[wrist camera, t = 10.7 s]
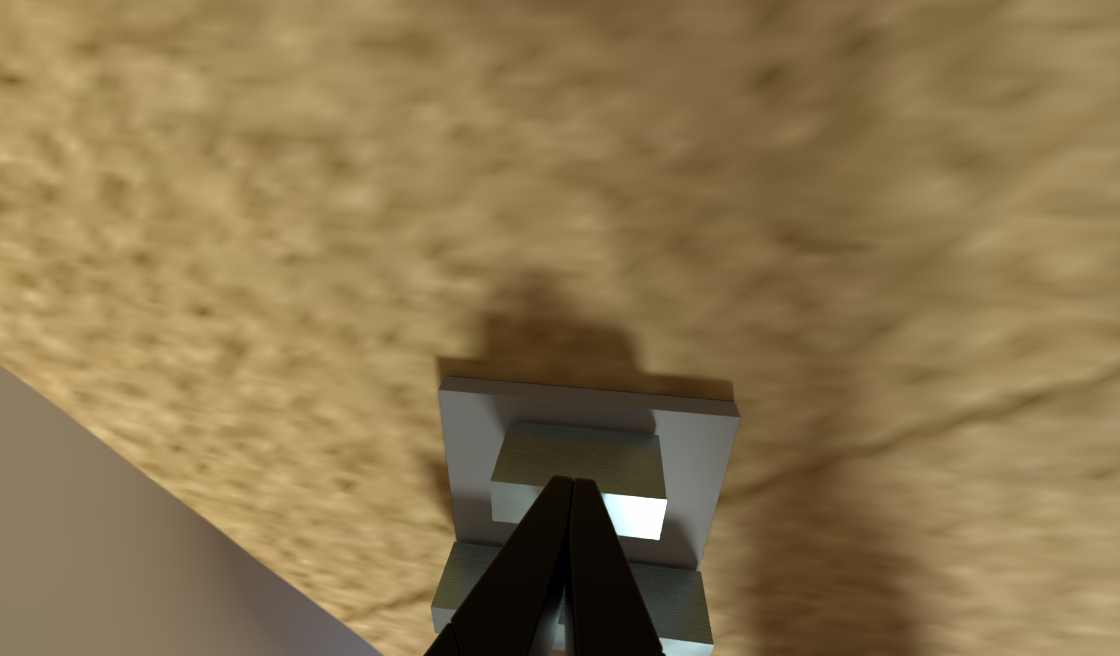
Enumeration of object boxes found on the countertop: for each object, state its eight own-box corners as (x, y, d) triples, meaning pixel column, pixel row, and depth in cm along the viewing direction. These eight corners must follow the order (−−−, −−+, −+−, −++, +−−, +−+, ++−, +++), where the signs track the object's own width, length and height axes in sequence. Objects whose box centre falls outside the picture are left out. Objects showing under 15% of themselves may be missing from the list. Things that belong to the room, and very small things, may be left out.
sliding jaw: (737, 438, 17) (785, 576, 12) (693, 596, 22) (715, 741, 17) (437, 410, 18) (372, 526, 13) (457, 567, 23) (414, 695, 18)
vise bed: (734, 401, 18) (767, 488, 14) (657, 696, 29) (663, 790, 25) (446, 376, 19) (402, 450, 15) (478, 670, 30) (457, 756, 26)
